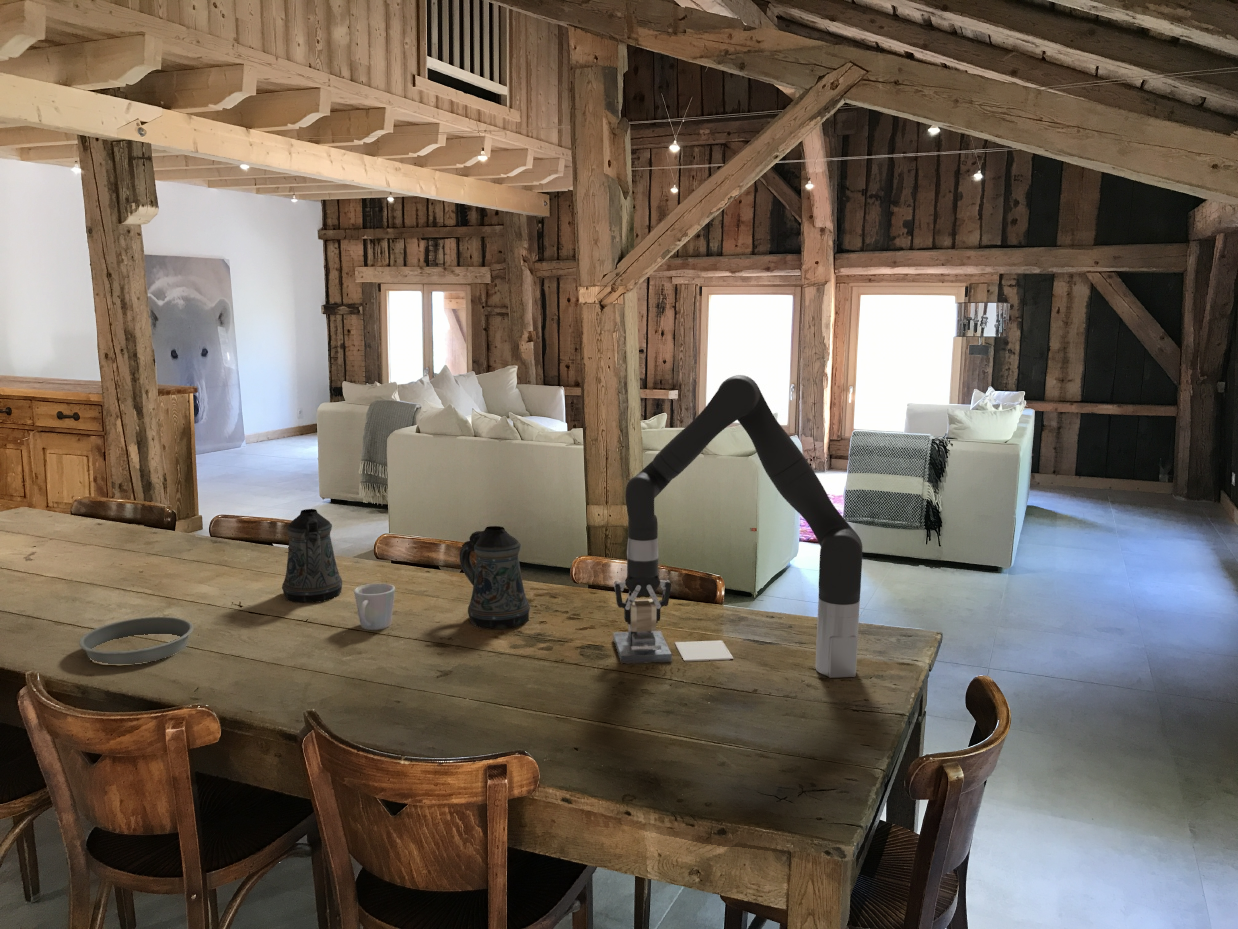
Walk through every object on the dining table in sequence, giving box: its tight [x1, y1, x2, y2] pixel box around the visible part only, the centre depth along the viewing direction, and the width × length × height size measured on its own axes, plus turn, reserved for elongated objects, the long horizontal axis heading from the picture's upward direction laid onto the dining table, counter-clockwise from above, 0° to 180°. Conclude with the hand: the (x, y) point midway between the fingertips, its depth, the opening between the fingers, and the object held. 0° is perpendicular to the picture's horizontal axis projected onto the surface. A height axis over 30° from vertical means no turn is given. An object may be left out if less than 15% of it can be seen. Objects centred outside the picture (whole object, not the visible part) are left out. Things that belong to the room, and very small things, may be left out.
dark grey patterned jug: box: [281, 508, 343, 604], centre depth 268 cm, size 16×19×25 cm
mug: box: [353, 582, 396, 631], centre depth 243 cm, size 10×15×10 cm
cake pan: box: [78, 616, 194, 664], centre depth 227 cm, size 25×25×4 cm
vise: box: [612, 624, 673, 664], centre depth 228 cm, size 16×12×10 cm
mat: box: [674, 639, 734, 662], centre depth 229 cm, size 12×12×1 cm
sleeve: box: [628, 598, 657, 632], centre depth 228 cm, size 6×6×6 cm
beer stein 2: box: [459, 525, 531, 630], centre depth 249 cm, size 16×19×25 cm
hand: (642, 622), depth 228 cm, fingers closed on sleeve, 6 cm apart
